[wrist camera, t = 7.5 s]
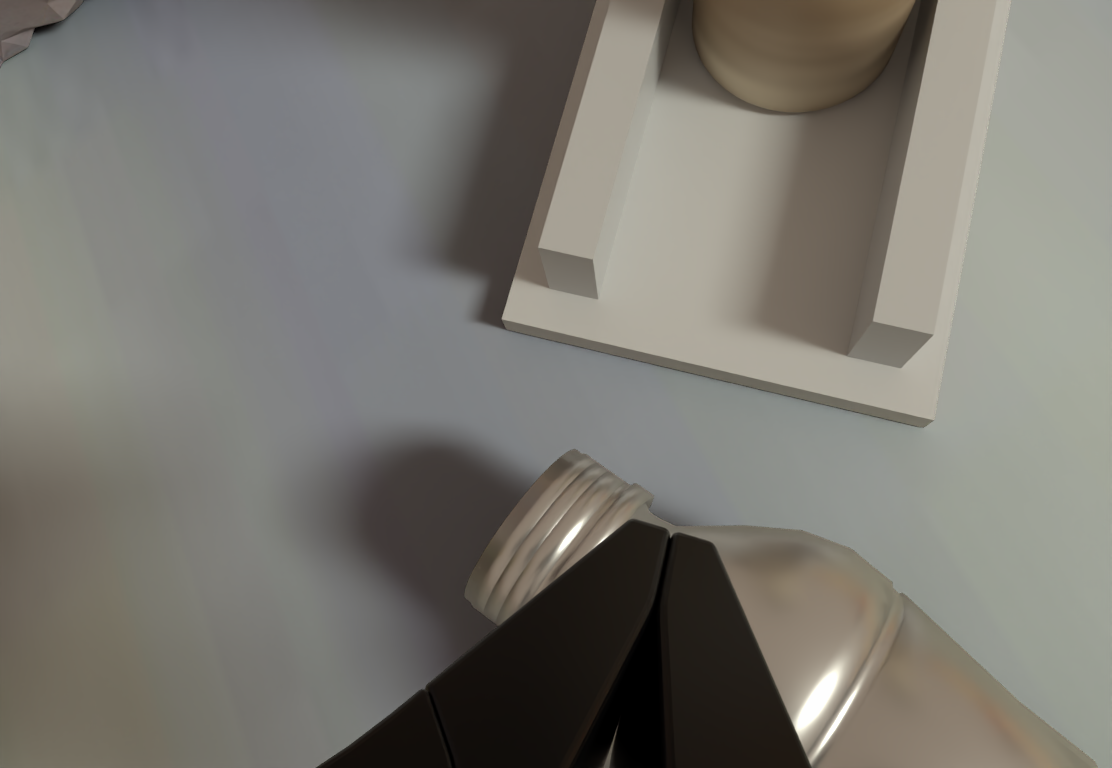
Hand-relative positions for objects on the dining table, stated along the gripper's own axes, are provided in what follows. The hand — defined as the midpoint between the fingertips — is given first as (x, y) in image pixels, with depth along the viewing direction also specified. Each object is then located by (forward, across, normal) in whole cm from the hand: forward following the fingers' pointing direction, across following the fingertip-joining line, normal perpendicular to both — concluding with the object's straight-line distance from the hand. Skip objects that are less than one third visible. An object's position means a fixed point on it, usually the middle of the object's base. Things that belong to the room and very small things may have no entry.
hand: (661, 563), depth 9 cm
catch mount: (+19, 0, -2) cm, 19 cm away
